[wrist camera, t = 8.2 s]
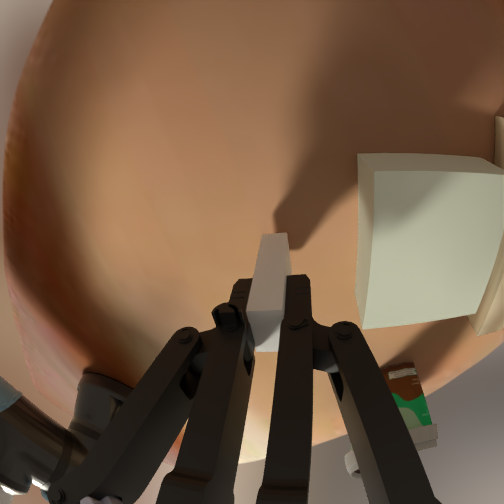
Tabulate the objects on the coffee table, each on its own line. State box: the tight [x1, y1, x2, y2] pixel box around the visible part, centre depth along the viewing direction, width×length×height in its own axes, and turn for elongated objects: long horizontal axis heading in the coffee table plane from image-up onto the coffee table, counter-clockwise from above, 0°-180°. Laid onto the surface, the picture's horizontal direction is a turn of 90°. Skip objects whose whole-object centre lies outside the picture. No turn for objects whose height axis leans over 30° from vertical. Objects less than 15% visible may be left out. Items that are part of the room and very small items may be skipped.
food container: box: [345, 362, 438, 479], centre depth 22 cm, size 12×6×10 cm, turn 177°
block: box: [355, 153, 504, 329], centre depth 15 cm, size 9×10×4 cm
